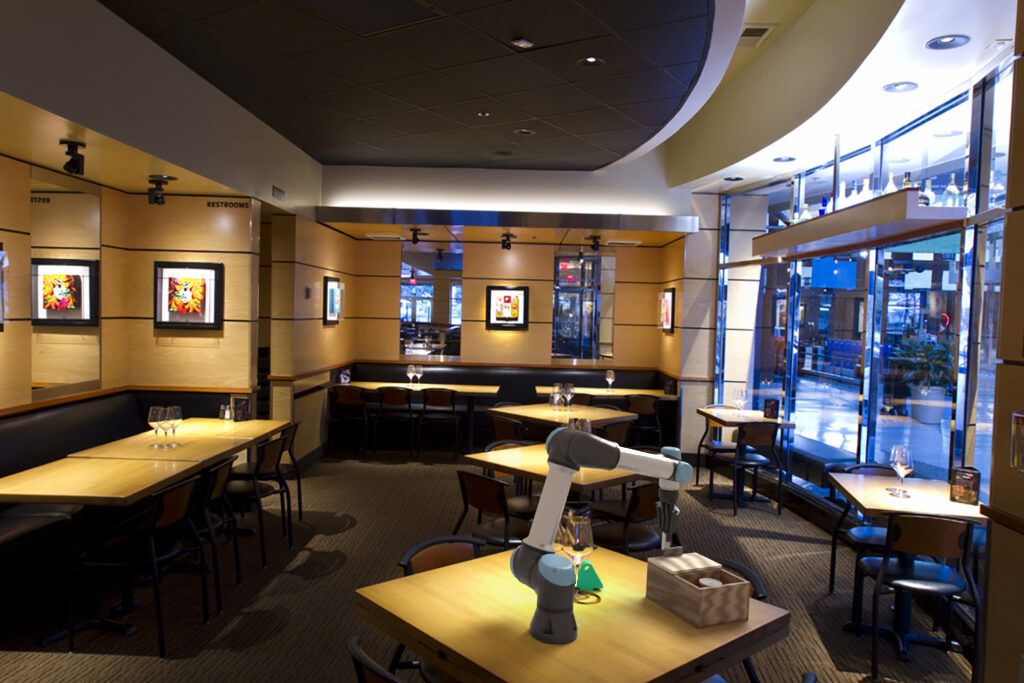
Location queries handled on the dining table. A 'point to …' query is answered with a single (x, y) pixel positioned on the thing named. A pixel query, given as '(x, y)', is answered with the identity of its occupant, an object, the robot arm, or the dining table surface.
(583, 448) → the robot arm
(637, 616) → the dining table surface
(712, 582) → the canned food
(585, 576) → the camera mount
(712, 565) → the lid
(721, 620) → the housing
